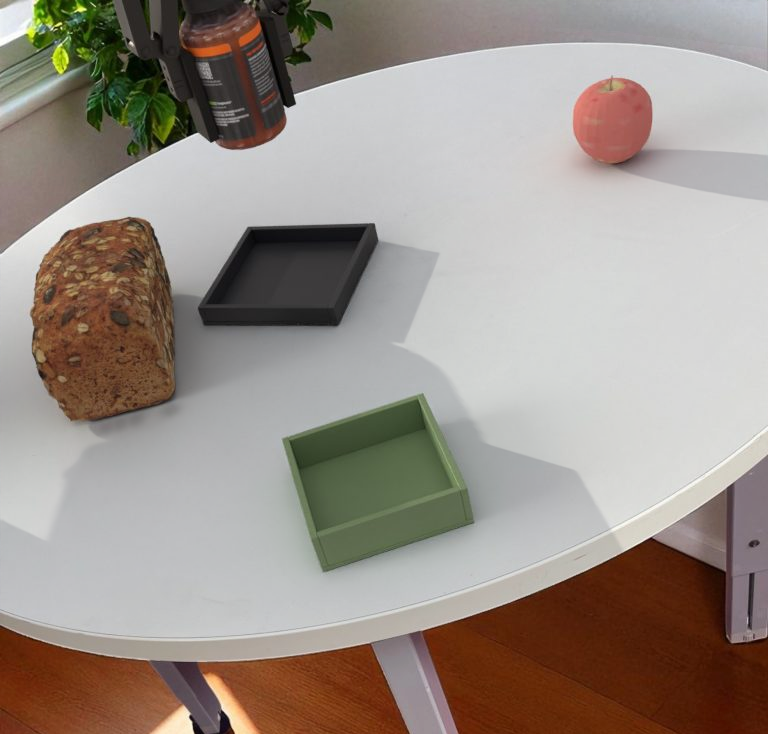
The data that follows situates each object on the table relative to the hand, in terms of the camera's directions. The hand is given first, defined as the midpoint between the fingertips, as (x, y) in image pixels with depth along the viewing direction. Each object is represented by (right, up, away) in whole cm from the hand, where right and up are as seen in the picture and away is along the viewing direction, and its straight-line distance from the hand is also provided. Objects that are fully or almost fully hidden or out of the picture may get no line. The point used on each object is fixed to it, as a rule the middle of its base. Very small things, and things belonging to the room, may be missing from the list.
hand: (246, 117), depth 82 cm
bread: (-13, -16, +15) cm, 25 cm away
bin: (+10, -29, -4) cm, 31 cm away
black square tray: (+2, -9, +18) cm, 20 cm away
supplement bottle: (0, -1, +1) cm, 2 cm away
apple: (+33, +4, +22) cm, 40 cm away
